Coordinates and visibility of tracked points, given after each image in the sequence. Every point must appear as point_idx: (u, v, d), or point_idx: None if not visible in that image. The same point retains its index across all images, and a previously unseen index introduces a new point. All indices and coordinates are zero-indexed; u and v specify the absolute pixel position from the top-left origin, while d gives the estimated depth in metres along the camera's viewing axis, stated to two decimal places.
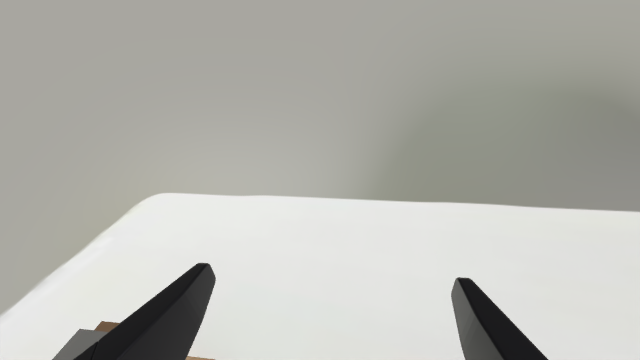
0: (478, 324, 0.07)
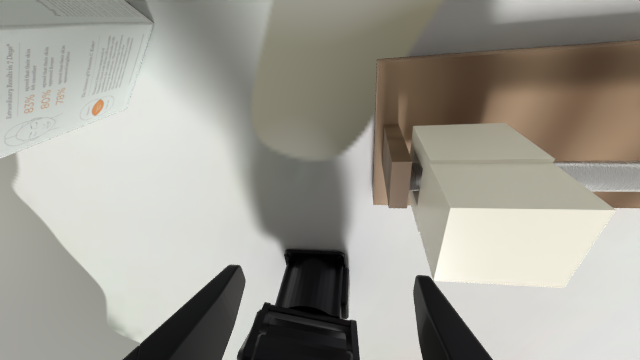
0: (429, 320, 0.07)
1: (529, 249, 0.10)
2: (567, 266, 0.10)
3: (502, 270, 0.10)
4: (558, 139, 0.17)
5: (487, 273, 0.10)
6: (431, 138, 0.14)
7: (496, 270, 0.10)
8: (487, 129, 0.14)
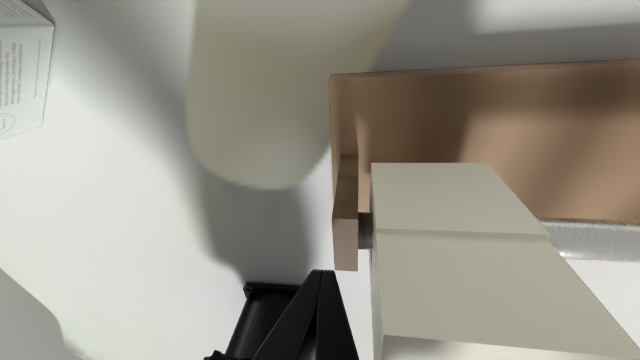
0: (317, 311, 0.08)
1: None
2: None
3: None
4: (554, 177, 0.14)
5: None
6: (388, 186, 0.10)
7: None
8: (463, 173, 0.11)
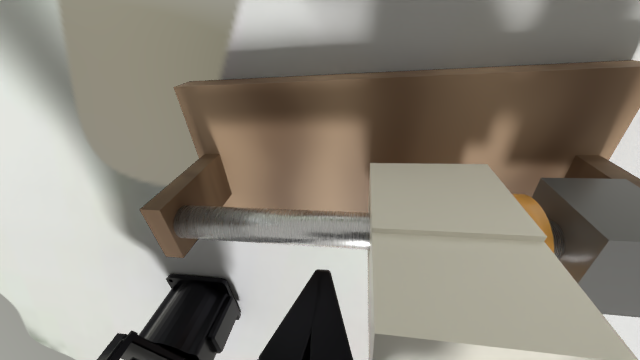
0: None
1: None
2: None
3: None
4: None
5: None
6: (386, 186, 0.10)
7: None
8: (462, 174, 0.11)
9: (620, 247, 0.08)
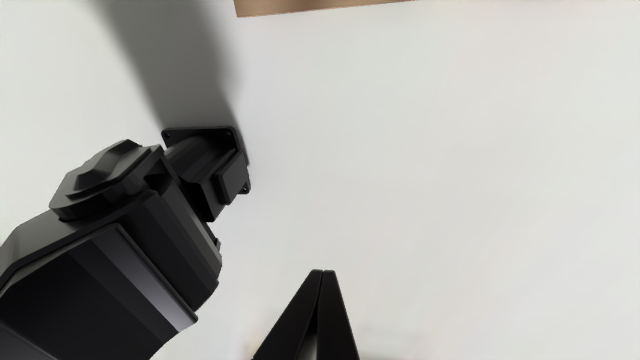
0: (318, 311, 0.08)
1: None
2: None
3: None
4: None
5: None
6: None
7: None
8: None
9: None
